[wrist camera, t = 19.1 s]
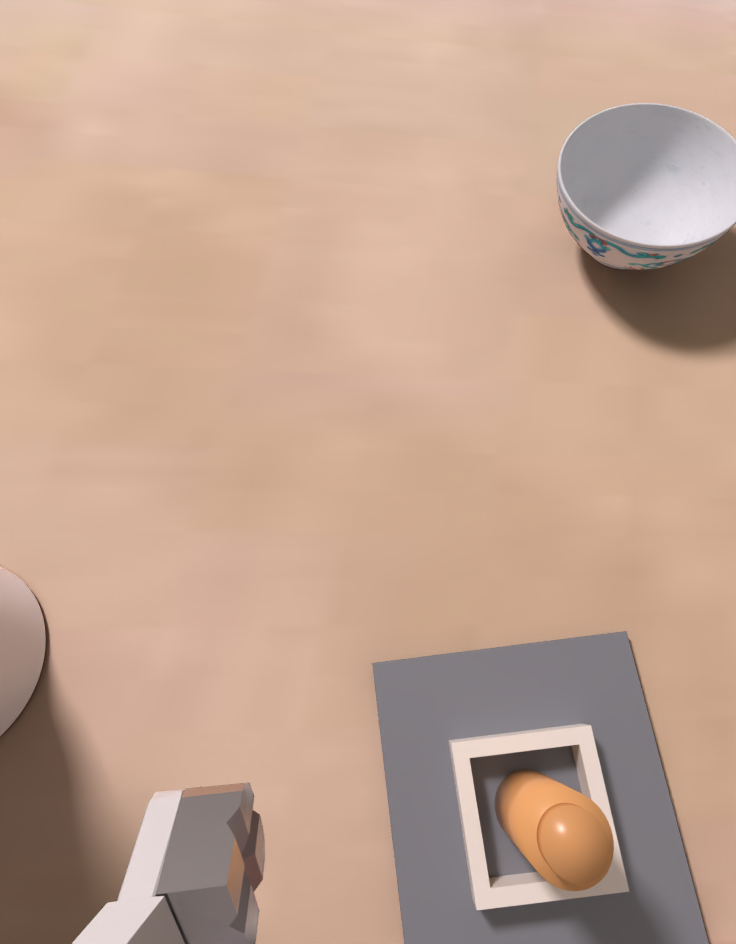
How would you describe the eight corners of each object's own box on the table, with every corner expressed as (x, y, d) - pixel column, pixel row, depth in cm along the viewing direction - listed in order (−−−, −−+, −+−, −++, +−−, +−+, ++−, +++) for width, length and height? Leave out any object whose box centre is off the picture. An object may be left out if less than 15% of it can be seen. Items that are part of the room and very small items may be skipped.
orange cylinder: (500, 850, 37) (539, 903, 27) (489, 772, 39) (521, 797, 29) (570, 842, 37) (633, 894, 27) (555, 765, 39) (610, 788, 29)
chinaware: (527, 295, 52) (548, 231, 45) (546, 168, 57) (568, 93, 50) (703, 321, 50) (754, 259, 43) (707, 188, 55) (754, 113, 48)
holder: (412, 1012, 35) (413, 1038, 32) (372, 663, 42) (371, 661, 39) (712, 975, 35) (737, 999, 32) (622, 632, 42) (637, 628, 39)
